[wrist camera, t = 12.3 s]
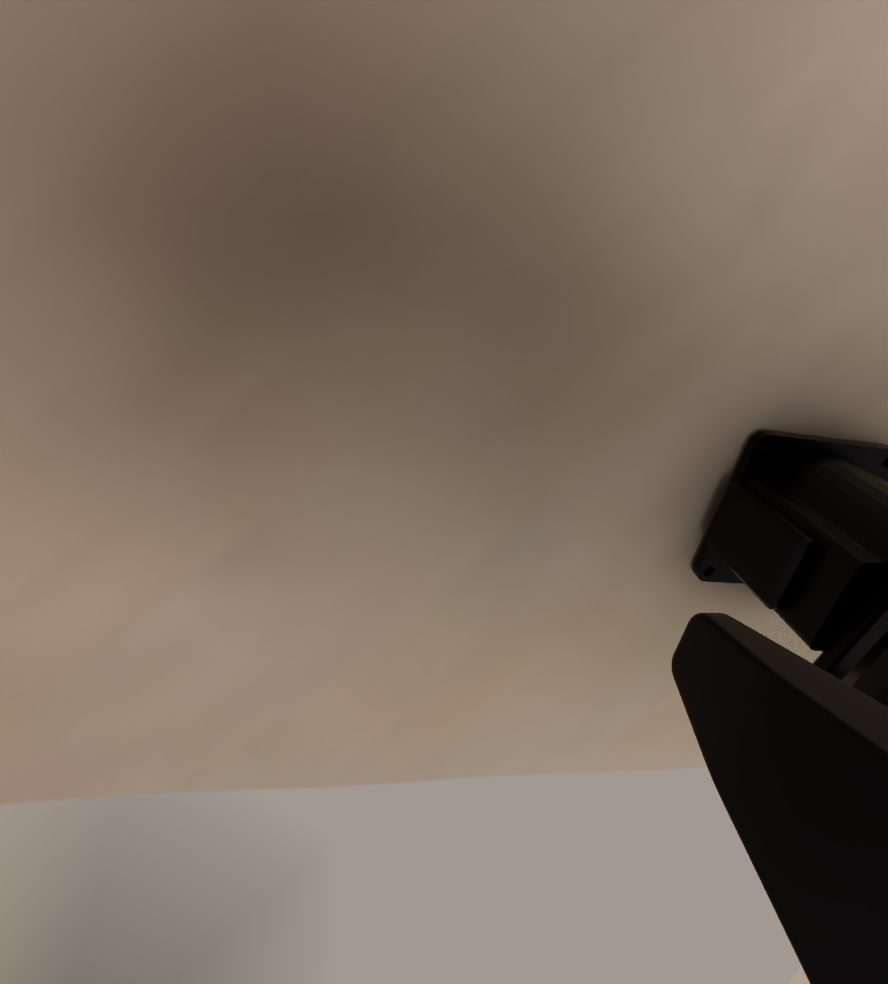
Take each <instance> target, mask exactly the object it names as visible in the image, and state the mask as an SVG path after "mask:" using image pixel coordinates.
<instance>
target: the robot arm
mask: <svg viewBox="0 0 888 984" xmlns="http://www.w3.org/2000/svg"><path fill="white" fill-rule="evenodd" d="M765 442H767V443H766V445H765V446H764V447H763V448H761V446H762V445H763V443H765ZM707 567H708V568H707ZM705 568H707V569H706V570H705ZM692 570H693V573H694V574H695V575H696V576H697V577H698V578H699V579H700V580H701V581H707V582H726V583H744V584H745V585H746V586H747V587H748V588H749V589H750V590H751V591H752V592H753V593H754V594H755V595H756V596H757V598H758V599H759V600H760V601H761V602H762V603H763V604H764V605H765V606H766V607H767V608H769V609H773V610H774V611H775V612H776V613H777V614H778V615H779V616H780V617H781V618H782V619H783V620H784V621H785V623H786V624H787V625H788V626H789V627H790V628H791V629H792V630H793V631H794V632H795V633H796V634H797V635H798V636H799V637H800V638H801V639H802V640H803V641H804V642H805V643H806V645H807V646H808V647H809V648H810V649H811V650H814V651H822V654H821V655H820V656H819V657H818V658H817V659H816V660H815V661H814V663H813V664H812V663H810V662H808V661H807V660H805V659H803V658H802V657H800V656H798V655H796V654H795V653H793V652H791V651H789V650H788V649H786V648H784V647H782V646H781V645H779V644H777V643H776V642H774V641H772V640H770V639H769V638H767V637H765V636H763V635H762V634H760V633H758V632H756V631H755V630H753V629H751V628H750V627H748V626H746V625H744V624H743V623H741V622H739V621H737V620H736V619H734V618H732V617H730V616H729V615H726V614H723V613H698V614H695V615H694V616H693V617H692V618H691V619H690V621H689V622H688V624H687V627H686V629H685V631H684V633H683V635H682V637H681V639H680V642H679V644H678V646H677V648H676V650H675V652H674V655H673V657H672V673H673V677H674V680H675V682H676V685H677V688H678V690H679V693H680V696H681V698H682V701H683V704H684V706H685V709H686V712H687V714H688V717H689V720H690V722H691V725H692V728H693V730H694V733H695V736H696V738H697V741H698V744H699V746H700V749H701V752H702V754H703V757H704V760H705V762H706V765H707V767H708V770H709V772H710V775H711V777H712V779H713V782H714V784H715V786H716V788H717V791H718V793H719V795H720V797H721V799H722V801H723V804H724V806H725V808H726V810H727V812H728V814H729V815H730V818H731V820H732V822H733V824H734V826H735V828H736V830H737V833H738V835H739V837H740V839H741V841H742V843H743V845H744V847H745V849H746V851H747V853H748V855H749V857H750V860H751V862H752V864H753V866H754V868H755V870H756V872H757V874H758V876H759V878H760V880H761V882H762V884H763V887H764V889H765V891H766V893H767V895H768V897H769V899H770V901H771V903H772V905H773V907H774V909H775V911H776V913H777V916H778V918H779V920H780V922H781V924H782V926H783V928H784V930H785V932H786V934H787V936H788V938H789V940H790V943H791V945H792V947H793V949H794V950H795V953H796V955H797V957H798V959H799V961H800V963H801V965H802V967H803V969H804V972H805V974H806V976H807V978H808V980H809V982H810V984H888V445H880V444H872V443H864V442H856V441H848V440H840V439H832V438H823V437H815V436H807V435H799V434H791V433H783V432H775V431H767V430H765V431H760V432H757V433H756V434H754V435H753V436H752V437H751V439H750V440H749V442H748V444H747V446H746V449H745V451H744V453H743V455H742V457H741V460H740V462H739V464H738V466H737V468H736V471H735V473H734V475H733V477H732V480H731V482H730V484H729V486H728V488H727V491H726V493H725V495H724V497H723V500H722V502H721V504H720V506H719V508H718V511H717V513H716V515H715V517H714V520H713V522H712V524H711V526H710V528H709V531H708V533H707V535H706V537H705V540H704V542H703V544H702V546H701V548H700V551H699V553H698V555H697V557H696V560H695V562H694V564H693V568H692Z"/></svg>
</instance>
